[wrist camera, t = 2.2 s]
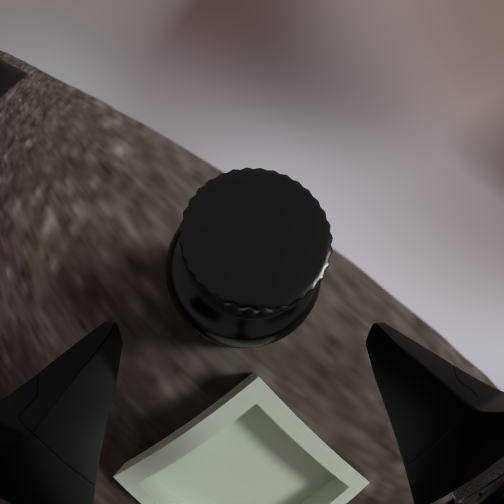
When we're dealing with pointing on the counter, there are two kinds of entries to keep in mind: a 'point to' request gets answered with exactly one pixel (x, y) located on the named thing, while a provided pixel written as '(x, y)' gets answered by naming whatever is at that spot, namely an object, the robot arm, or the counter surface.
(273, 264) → the supplement bottle
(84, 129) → the counter surface
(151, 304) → the counter surface
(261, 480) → the mint green square tray
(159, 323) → the counter surface
